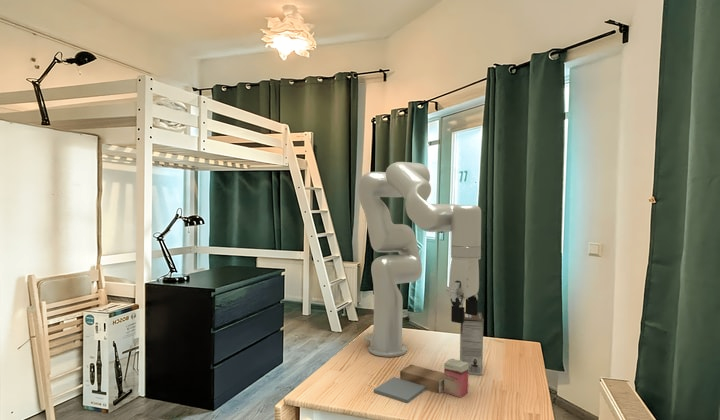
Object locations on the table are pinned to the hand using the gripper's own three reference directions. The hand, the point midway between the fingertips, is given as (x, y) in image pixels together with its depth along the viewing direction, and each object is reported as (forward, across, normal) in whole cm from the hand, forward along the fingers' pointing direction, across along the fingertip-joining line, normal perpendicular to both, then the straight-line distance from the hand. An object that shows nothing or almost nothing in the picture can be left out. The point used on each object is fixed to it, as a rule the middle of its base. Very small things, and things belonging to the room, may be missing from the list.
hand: (464, 318), depth 113 cm
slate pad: (+19, +9, -14) cm, 25 cm away
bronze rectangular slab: (+19, +1, -11) cm, 22 cm away
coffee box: (+20, -17, -4) cm, 26 cm away
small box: (+20, +1, -2) cm, 20 cm away
